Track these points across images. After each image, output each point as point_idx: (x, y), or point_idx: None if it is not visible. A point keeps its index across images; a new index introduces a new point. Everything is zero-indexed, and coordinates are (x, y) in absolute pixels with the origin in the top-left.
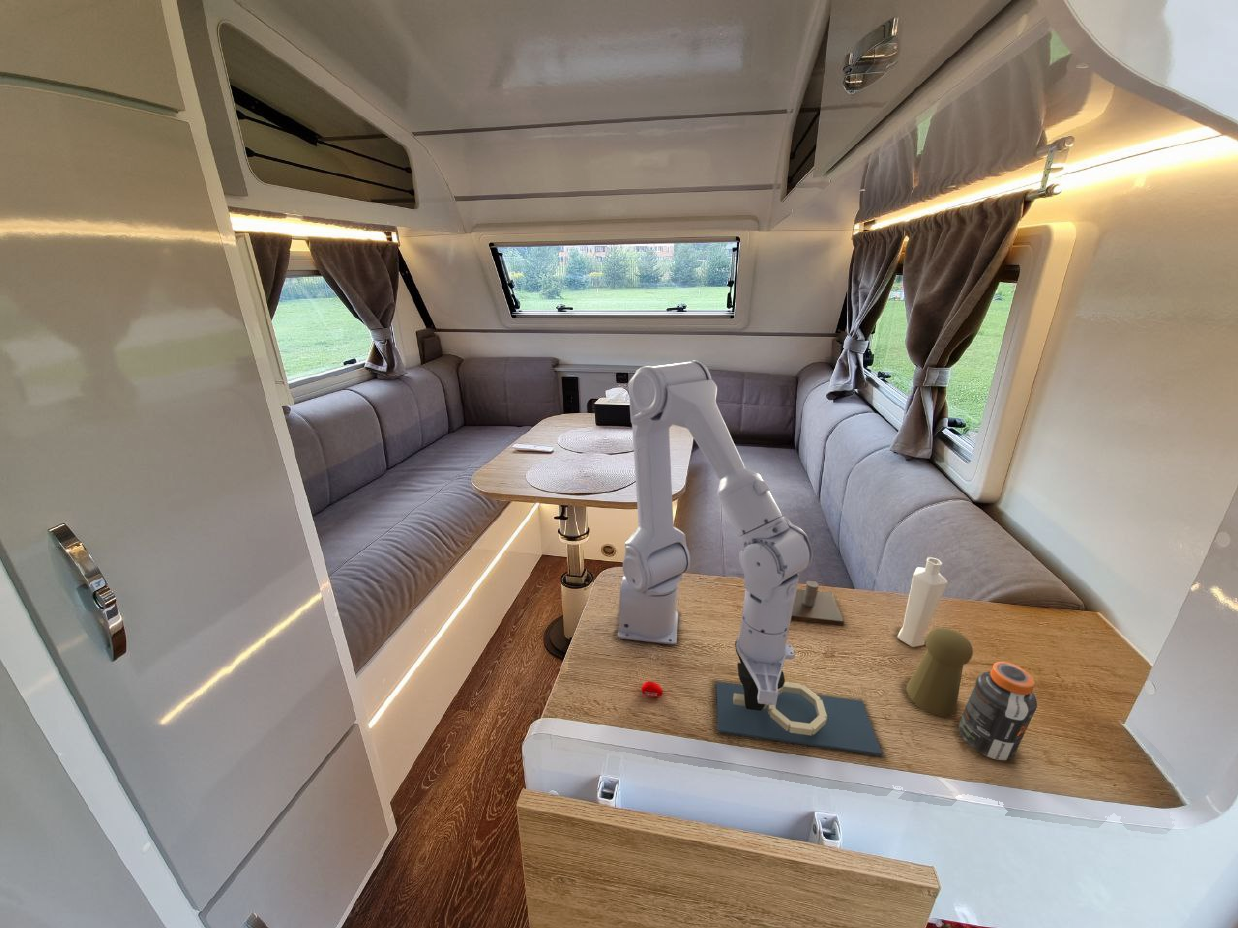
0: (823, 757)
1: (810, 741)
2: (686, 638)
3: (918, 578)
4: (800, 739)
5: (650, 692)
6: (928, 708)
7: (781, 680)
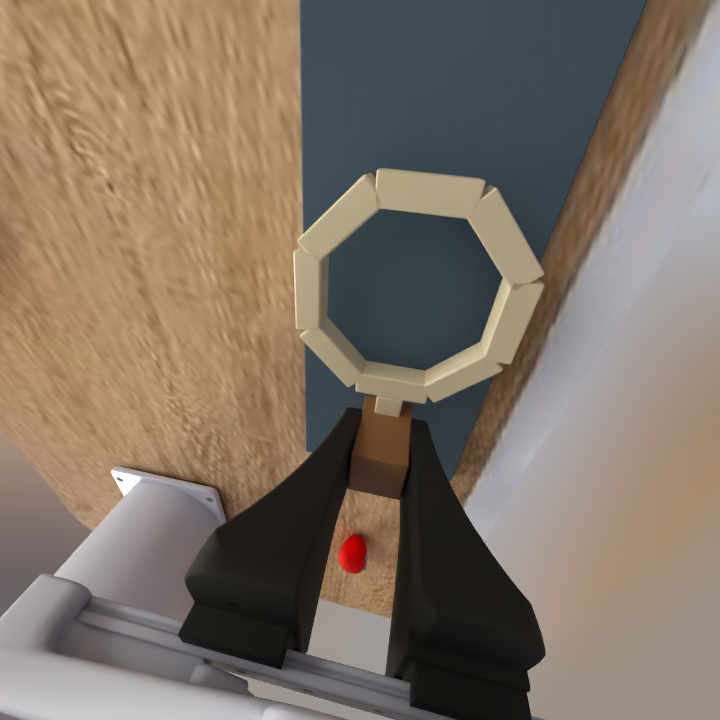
0: (596, 228)
1: None
2: (187, 464)
3: None
4: None
5: (365, 565)
6: None
7: (519, 647)
